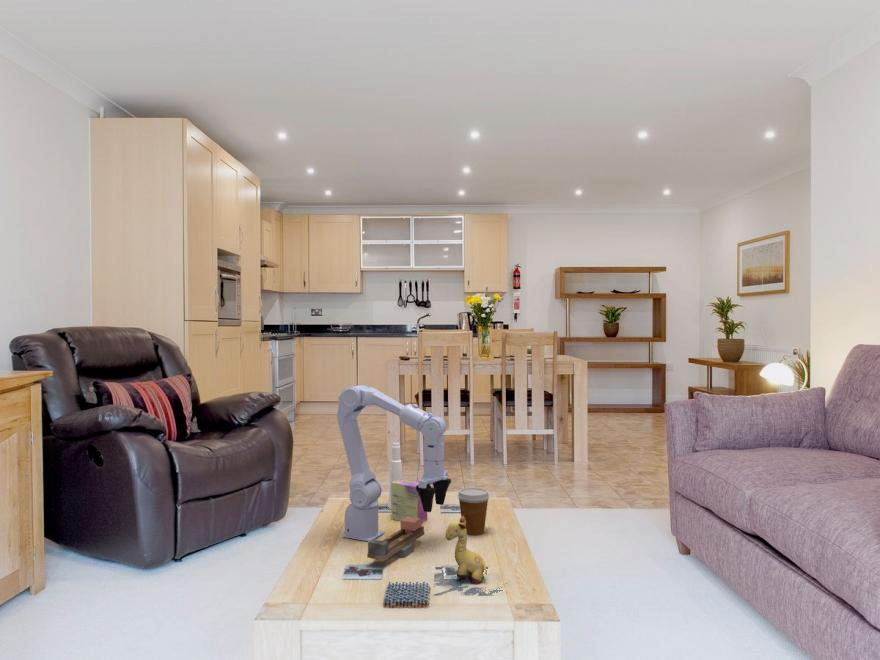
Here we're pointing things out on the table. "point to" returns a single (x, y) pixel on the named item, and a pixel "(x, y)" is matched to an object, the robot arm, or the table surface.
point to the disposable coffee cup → (474, 509)
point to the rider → (410, 524)
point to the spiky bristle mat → (407, 595)
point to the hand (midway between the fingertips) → (433, 507)
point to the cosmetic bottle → (395, 467)
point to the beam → (394, 545)
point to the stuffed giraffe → (463, 563)
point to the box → (406, 501)
